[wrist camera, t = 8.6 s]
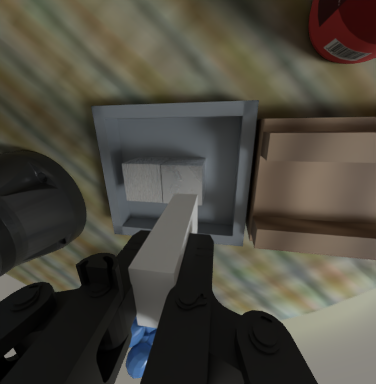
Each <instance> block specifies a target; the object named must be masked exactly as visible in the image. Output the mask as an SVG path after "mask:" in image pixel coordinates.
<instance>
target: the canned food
mask: <svg viewBox="0 0 376 384" xmlns="http://www.w3.org/2000/svg"><path fill="white" fill-rule="evenodd" d="M308 29H309V36H310V40H311V42H312V45H313V47H314V48H315V50H316V51H317V52H318V53H319V54H320V55H321V56H322V57H323V58H325V59H327V60H329V61H331V62H336V63H343V64H355V63H360V62H365V61H368V60H371V59H373V58H376V0H313V2H312V6H311V11H310V15H309V26H308Z"/></svg>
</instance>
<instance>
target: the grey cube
mask: <svg viewBox="0 0 376 384" xmlns="http://www.w3.org/2000/svg"><path fill="white" fill-rule="evenodd" d="M161 176H162V190H163V203H169V202H170V200H171V199H172V197H173V195H174V194H175V193H177V194H198V205H202V203H203V199H204V196H205V192H206V158H170V159H169V160H167V161H166V162H164V163H163V164H162V165H161Z"/></svg>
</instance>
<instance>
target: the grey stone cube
mask: <svg viewBox="0 0 376 384" xmlns="http://www.w3.org/2000/svg"><path fill="white" fill-rule="evenodd" d="M170 158H171V157H137V158H135V159H132V160H130V161H127V162H125V163H122V170H123V177H124V184H125V191H126V198H127V201H141V202H158V203H163V190H162V176H161V165H162V164H163V163H164V162H166V161H167V160H169V159H170Z"/></svg>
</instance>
